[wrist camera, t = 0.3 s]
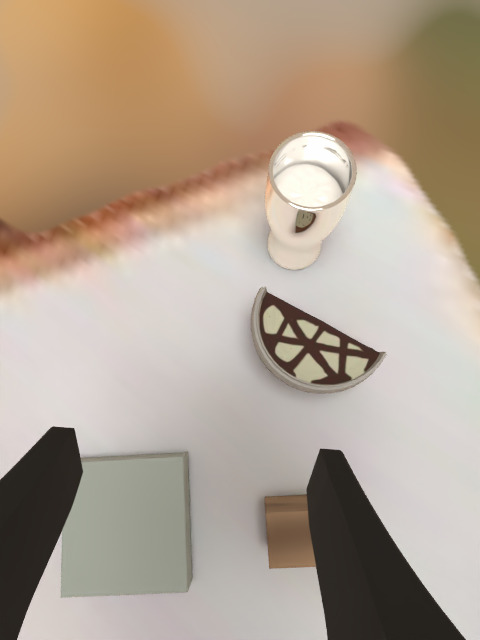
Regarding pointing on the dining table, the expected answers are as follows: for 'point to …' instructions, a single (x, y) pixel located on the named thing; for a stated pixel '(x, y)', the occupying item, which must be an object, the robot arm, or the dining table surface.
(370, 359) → the food container
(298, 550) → the walnut block
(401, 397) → the dining table surface
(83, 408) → the dining table surface
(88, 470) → the grey platform
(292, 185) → the beer glass
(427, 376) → the dining table surface
